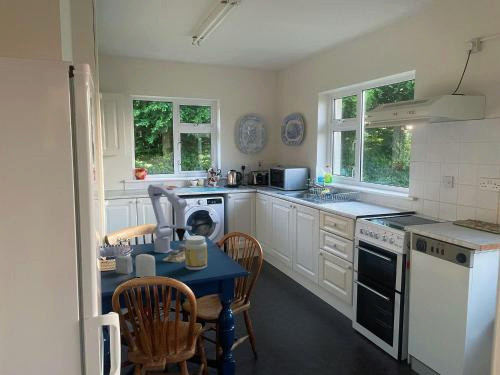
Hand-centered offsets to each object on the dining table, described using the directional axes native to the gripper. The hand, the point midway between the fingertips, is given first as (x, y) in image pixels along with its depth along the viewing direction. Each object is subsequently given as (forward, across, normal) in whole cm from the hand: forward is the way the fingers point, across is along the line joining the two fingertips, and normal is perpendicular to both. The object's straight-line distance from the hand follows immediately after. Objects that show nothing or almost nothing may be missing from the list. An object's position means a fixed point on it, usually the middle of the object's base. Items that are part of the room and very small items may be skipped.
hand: (181, 240), depth 232 cm
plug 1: (+9, 0, -7) cm, 11 cm away
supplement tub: (+10, +19, -14) cm, 26 cm away
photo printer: (+10, +3, -38) cm, 39 cm away
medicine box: (+10, -13, -36) cm, 40 cm away
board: (+10, 0, 0) cm, 10 cm away
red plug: (+7, 0, +7) cm, 10 cm away
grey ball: (+7, 0, 0) cm, 7 cm away
